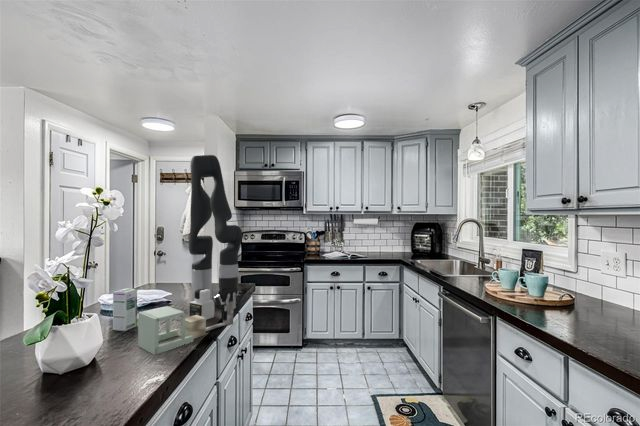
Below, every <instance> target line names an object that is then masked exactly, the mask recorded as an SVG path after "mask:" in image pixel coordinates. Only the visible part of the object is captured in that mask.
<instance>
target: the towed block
mask: <svg viewBox="0 0 640 426" xmlns="http://www.w3.org/2000/svg"><path fill="white" fill-rule="evenodd" d="M231 325H234V318H233V301H229V304H228V305H227V320H226V321H224V320H222V322H220V323H217V324H212V325H210V326H207V320H206V318H204V317H201V316H198V315H194V316H190V315H189V316H188V317H185V337H187V336H190V335H192V336H194V337H193V340H194V339H196V338H199V337H200V338H201V337H203V336H206V335H207V331H211V330H215V329H218V328H221V327H223V326H227V327H228V326H231ZM206 326H207V327H206Z"/></svg>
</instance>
